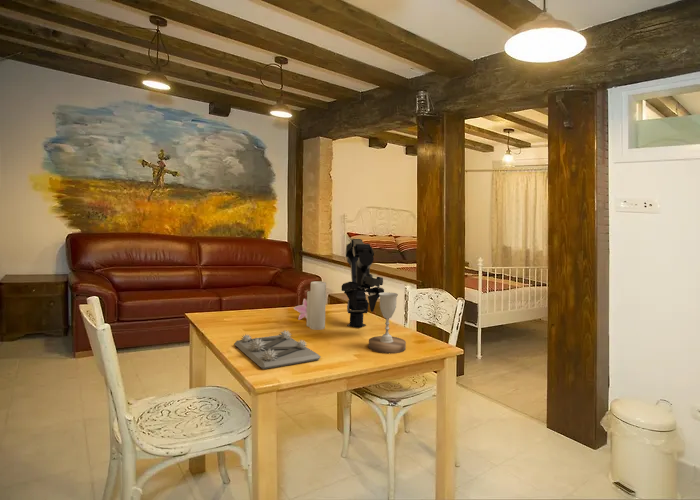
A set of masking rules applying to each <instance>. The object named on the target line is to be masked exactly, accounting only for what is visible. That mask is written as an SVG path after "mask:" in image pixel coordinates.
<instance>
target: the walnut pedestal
mask: <svg viewBox="0 0 700 500" xmlns="http://www.w3.org/2000/svg"><path fill="white" fill-rule="evenodd" d="M381 337H382V335H379V336H378V335H377V336H374V337H371V338H369V339H368V349H369V350H371V351H372V352H375V353H378V354H379V353H381V354H389V353H390V354H400V353H402V352H403V353H404V351H406V348H407V345H406V344H407V342H406V340H405V339H403V338H400V337H397V336H392V339H393V342H391V343H384V342H381V341H380V340H381Z"/></svg>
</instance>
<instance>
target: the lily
mask: <svg viewBox="0 0 700 500" xmlns="http://www.w3.org/2000/svg"><path fill="white" fill-rule="evenodd" d="M293 309H294V311H297V312H298V313H299V316H298V321H300V320H302V319H304V318H305V319H306V320H307V298H303V301H302V304H300V305H296V306H294V307H293Z"/></svg>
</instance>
